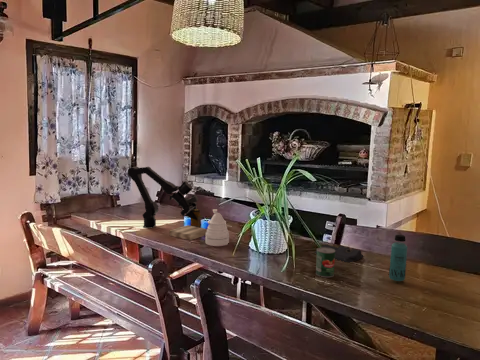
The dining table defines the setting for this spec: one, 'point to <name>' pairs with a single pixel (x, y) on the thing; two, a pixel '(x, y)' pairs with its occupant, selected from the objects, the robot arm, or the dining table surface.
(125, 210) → the dining table surface
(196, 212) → the condiment
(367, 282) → the dining table surface
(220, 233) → the honey pot
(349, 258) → the dark slate chunk
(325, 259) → the canned tomato
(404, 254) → the beverage bottle
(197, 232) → the base board
